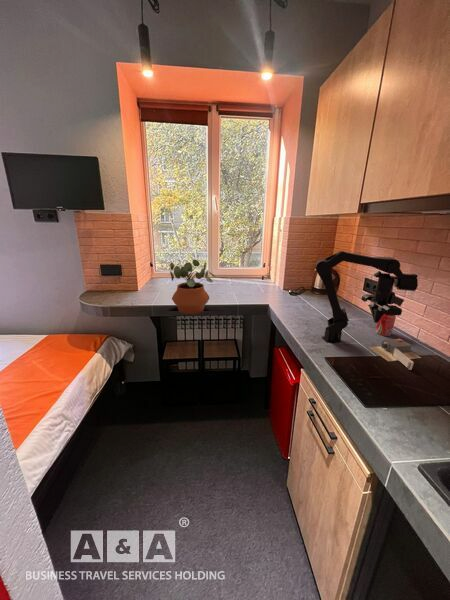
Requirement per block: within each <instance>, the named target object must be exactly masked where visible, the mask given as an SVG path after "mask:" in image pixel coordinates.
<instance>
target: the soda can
mask: <svg viewBox="0 0 450 600" xmlns="http://www.w3.org/2000/svg"><path fill="white" fill-rule="evenodd" d="M396 316H397V315H386V314H384V315H383V316H382V317H381V319H380V320H379V321H378V323H375V324H376V325H375V331H374V332H375V333H376V334H377V335H379V336H385V337H390V336H391V335H392V332H393V330H394V326H395V321H396V318H397V317H396Z"/></svg>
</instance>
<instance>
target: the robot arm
mask: <svg viewBox="0 0 450 600" xmlns="http://www.w3.org/2000/svg"><path fill="white" fill-rule="evenodd" d="M342 262H347V263H351V264H357V265H360V266H361V265H362V266H365V267H370V268H371V267H372V268H374V269H376V270H378V271H377V272H374V273H373V277H375V278H378V279H377V283H376V287H375V288H373V292H374V294H370V293H365V294H363V295H362V297H361V301H363V302H367V301H369V302H370V304H368V307H369V310H370V314H371V316H372V320H373V323H375V324H377V323H378V321H379V320H380V319H381V317H382V316H383V315H384V314H386V315H395V316H401V315H402V313H403V309H402V308H401V306H402V304H403V303H404V302H405V299H403V298H401V297H398V296H397V295H396V293H395V292H394V291H393V288H394V287H395V288H396V290H398V291H399V290H400V291H409V292H415V291H416V290H417V289H418V286H419V282H418V280H419V279H418V277H419V275H418V274H416V273H403V271H402V269H401V263H400V261H399V260H398V259H396V258H395V257H390V256H369V255H364V254H360V253H359V254H358V253H354V252H348V251H345V250H339V251H337V252H336V253H334V254H332V255H329V256H328V257H326V258H321V259H318V260H317V261H316V263H315V270H316V272H317V274H318V276H319V278H320V279H321V281H322V283H323V286H324V289H325V292H326V295H327V296H326V297H327V299H328V301H329V305H330V308H331V314H332V315H331V317H330V318H328V319H327V320H326V322H327V326H326V327H325V330H324V336H321V338H322V340H324V341H325V342H327V343H329V344H335V343H337V344H338V343H342V340H341V339H342V331H343V329H345V328H347V327H348V326H349V323H348V322H350V318H349V317H348V315H347V313H348V312H347V310H346V308H345V307H343V308H342V307H341V305H340V302H339V299H338V295H337V293H336V289H335V286H334V282H333V280H332V271H331V269H333V268H335V267H336V266H338V265H339V264H340V263H342ZM381 271H382V272H381ZM392 274H393V275H392Z"/></svg>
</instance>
